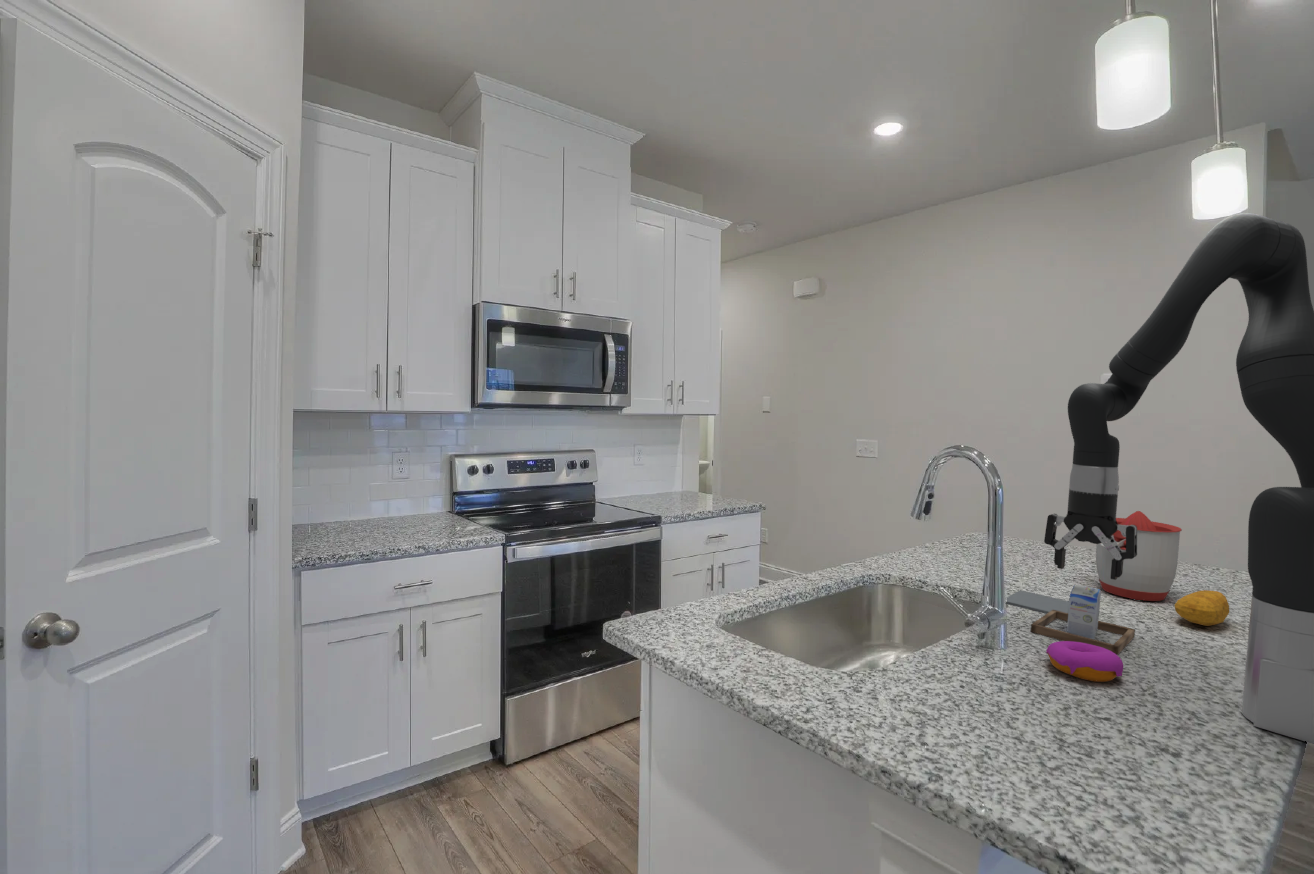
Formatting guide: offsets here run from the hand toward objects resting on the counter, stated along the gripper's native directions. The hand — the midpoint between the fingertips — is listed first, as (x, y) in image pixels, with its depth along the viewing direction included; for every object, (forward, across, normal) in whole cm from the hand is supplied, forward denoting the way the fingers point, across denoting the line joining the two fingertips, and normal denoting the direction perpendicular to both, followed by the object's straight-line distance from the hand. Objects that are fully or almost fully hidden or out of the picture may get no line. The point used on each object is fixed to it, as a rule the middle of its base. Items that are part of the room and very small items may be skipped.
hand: (1086, 573), depth 115 cm
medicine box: (+12, 0, 0) cm, 12 cm away
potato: (+12, +14, +28) cm, 34 cm away
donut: (+12, +5, -20) cm, 24 cm away
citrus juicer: (+12, 0, +40) cm, 42 cm away
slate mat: (+12, -11, +14) cm, 21 cm away
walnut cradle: (+12, 0, 0) cm, 12 cm away
